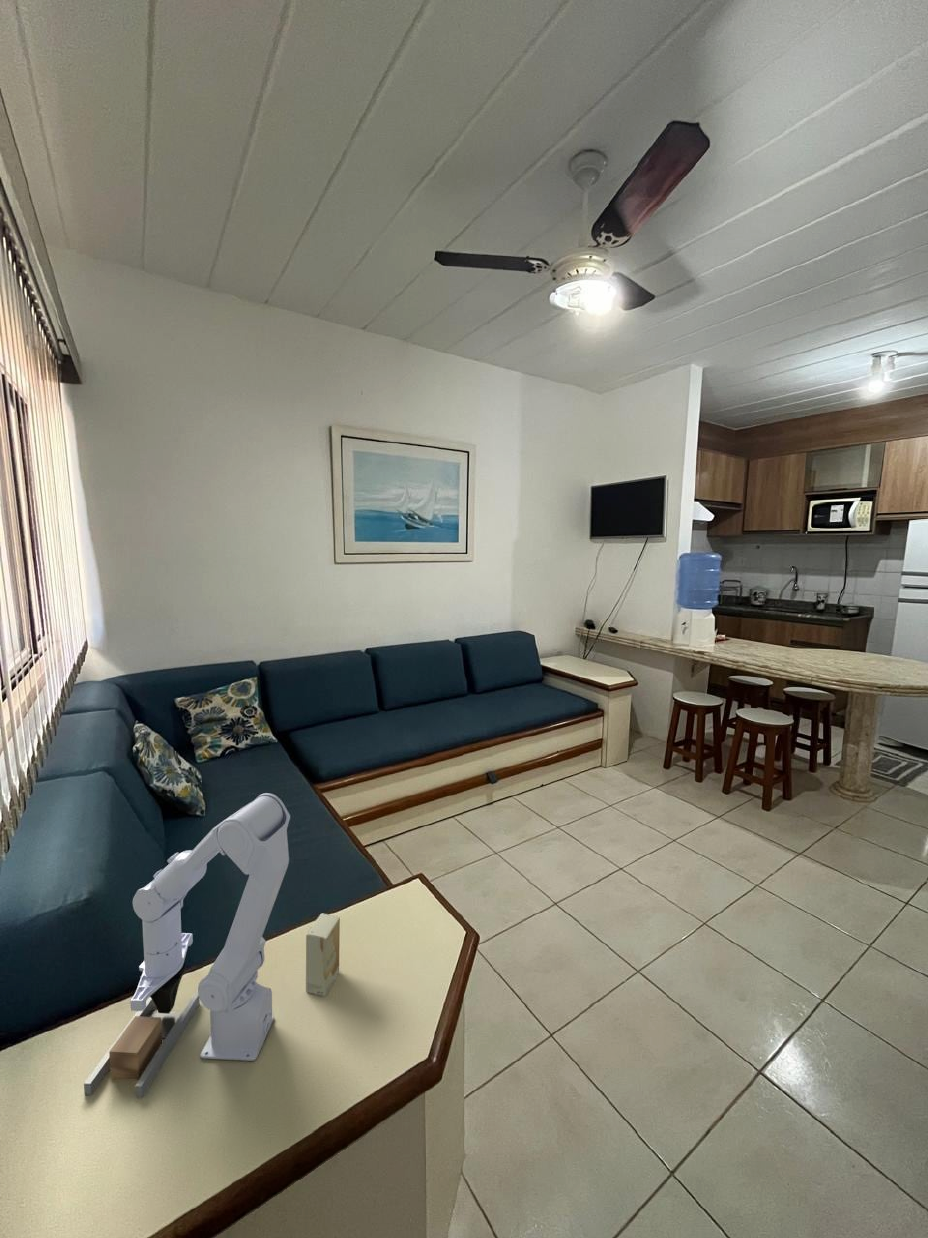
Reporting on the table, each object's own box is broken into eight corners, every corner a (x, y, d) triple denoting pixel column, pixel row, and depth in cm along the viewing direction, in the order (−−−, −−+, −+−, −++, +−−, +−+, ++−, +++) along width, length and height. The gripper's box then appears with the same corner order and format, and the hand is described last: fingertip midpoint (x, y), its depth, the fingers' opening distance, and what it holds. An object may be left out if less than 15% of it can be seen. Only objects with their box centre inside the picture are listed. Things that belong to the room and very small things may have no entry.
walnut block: (162, 1043, 84) (161, 1017, 83) (138, 1080, 78) (137, 1053, 77) (136, 1042, 84) (135, 1016, 83) (110, 1079, 78) (109, 1051, 77)
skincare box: (325, 997, 93) (325, 940, 92) (305, 993, 94) (304, 935, 92) (340, 970, 99) (340, 915, 98) (321, 966, 100) (321, 912, 99)
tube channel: (199, 1003, 91) (199, 994, 91) (142, 1097, 75) (141, 1086, 75) (152, 1001, 91) (151, 991, 91) (84, 1094, 75) (83, 1083, 75)
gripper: (166, 911, 94) (169, 974, 95) (110, 975, 79) (114, 1049, 81) (202, 913, 93) (204, 976, 95) (153, 977, 79) (156, 1051, 81)
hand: (166, 1010), depth 88 cm, fingers closed
